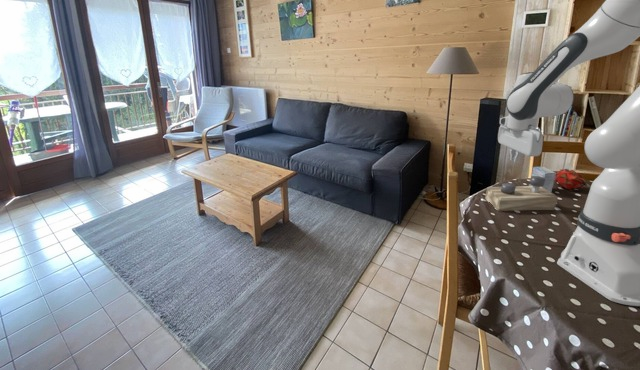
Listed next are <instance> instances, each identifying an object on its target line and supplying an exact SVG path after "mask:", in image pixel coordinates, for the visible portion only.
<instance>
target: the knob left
mask: <svg viewBox="0 0 640 370" xmlns="http://www.w3.org/2000/svg"><path fill="white" fill-rule="evenodd" d="M500 187H501V192H503V193H507V194H514V192H515V188H516V184H513V183H508V182H506V183H505V182H504V183H502V184H501V186H500Z"/></svg>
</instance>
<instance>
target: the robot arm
mask: <svg viewBox="0 0 640 370" xmlns="http://www.w3.org/2000/svg"><path fill="white" fill-rule="evenodd" d="M639 37H640V0H605V1H604V2H603V3H602V4H601V6H600V7H599V8H598V9H597V10H596V12H595V13H593V15H592V16H591V17H590V18H589V19H588V20H587V21H586V22H585V23H584V24H582V26H581V27H579V28H578V29H577V30H576V31H575V32H573V33H572V34H571V35H569V36H568V37H567V38H565V39H564V40H563V41H561V43H560V44H559V45H557V47H555V49H554V50H552V52H551V53H549V55H548V56H547V57H546V58H545V59H544V60H543V61H542V62H541V63H540V64H539V65H538V66H537V67H536V68H535V70H534V71H530V72H524V73H521V74H519V75H518V76H517V78H516V79H515V82H514V85H513V89H512V90H511V92H509V94H508V95H507V99H506V102H505V105H506V110H507V113H508V115H507V116H504V117H501V118H500V119H499V125H500V126H499V127H498V133H497V141H498V143H499V144H500V145H502V146H505V147H507V148H509V155H510V158H509V159H510V161H511V162H512V163H514V164H520V163H521V159H522V158H523V156H524V155H525V156H527V157H539V156H540V155H541V154H542V150H543V144H544V143H543V142H544V137H543V132H542V130H541V128H540V127H539V126H538V124H539V121H540V120H539V119H540V118H548V117H550V118H551V117H557V116H561V115H565V114H566V113H567V112H568V111H569V110H571V107H572V106H573V104H574V100H575V94H574V91H573V89H572V88H571V87H570V86H569V85H567V84H563V83H561V82H558V80H560V79H561V78H562V77H563V76H564V75H565V74H566V73H567V72H569V71H570V70H571V69H573V68H574V67H577V66H578V65H581V64H583V63H586V62H588V61H591V60H595V59H598V58H602V57H606V56H610V55H612V54H615V53H618V52H621V51H623V50H624V49H626V48H627V47H629V45H631V44H632V43H634V42H635V41H636V40H637V39H639ZM584 154H585V156H586V157H587V159H588V160H589V162H591V163H592V164H594V165H595V166H597V167H600V168H604V169H603V170H602V172H601V173H600V174H599V175H598V176H597V177H596V178H595V179H594V180H593V182H592V183H591V185H590V188H589V192H588V195H587V198H586V201H585V204H584V206H583V207H584V208H582V209H581V211H580V212H579V214H578V217H577V221H576V223H577V227H576V229H575V230H574V231H573V233H572V234H571V236H570V239H569V240H568V243H567V245H566V247H565V249H563V250H562V251H561V253H560V257H559V258H558V260H557V262H556V264H557V265H558V266H559V267H561V268H562V269H563V270H565V271H566V272H568V273H569V274H571V275H572V276H574V277H576V278H577V280H580V281H581V282H582V283H584V284H585V285H587V286H588V287H590V288H591V289H593V290H594V291H596V292H597V293H599V295H601V296H603V297H604V298H606V299H608V300H609V301H611V302H614V303H616V304H617V303H618V304H621V305H626V306H632V307H640V84H639V85H638V87H636V89H635V90H634V91H633V92H632V93H631V94H630V95H629V96H628V97H627V98H626V100H625V101H623V103H622V104H621V105H619V107H618V108H617V109H616V110H615V111H614V112H613V113H612V114H611V116H609V118H608V119H607V120H606V121H605V122H603V123H602V124H601V125H600V126H598V127H597V128H596V129H594V130H593V131H592V132H590V134H588V136H587V138H586V140H585V142H584Z"/></svg>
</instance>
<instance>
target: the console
mask: <svg viewBox="0 0 640 370" xmlns="http://www.w3.org/2000/svg"><path fill="white" fill-rule="evenodd" d="M515 186H516V185H515ZM501 187H502V186H488V187H486V193H485V197H484V199H485V200H486V202H488V203H489V202H490V203H491V204H492V205H493V206H492V205H491V204H490V203H489V204H490V205H491V206H492V207H493V208H495V209H496V210H497V212H499V211H501V212H502V211H542V210H545V211H546V210H547V211H549V210H550V211H551V210H553V211H554V210H555V209H556V207H557V206H556V205H557V201H558V199H559V196H557V195H556V194H554V193H553V192H549V191H548V190H546V189H544V188H543V187H540V188H539V192H538V193H533V192H532V191H531V190H532V186H529V185H526V186H525V185H524V186H523V185H522V186H519V185H518V186H516V188H515V192H514V194H507V193H503V192H501Z"/></svg>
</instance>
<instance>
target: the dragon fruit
mask: <svg viewBox="0 0 640 370" xmlns="http://www.w3.org/2000/svg"><path fill="white" fill-rule="evenodd" d="M555 173H556V176H555V180H554V183H557V184H558V188H562V187H563V188H565V189H567V190H568V191H571V192H576V191H577V190H576V189H583V188H584V186H585V187H587V184H588V182H587V181H586V179H584V178H583V176H582V174H580V173H577V171H575V170H573V169H569V168H563V169H562V168H561V169H560V170H558V171H556V172H555Z"/></svg>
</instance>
